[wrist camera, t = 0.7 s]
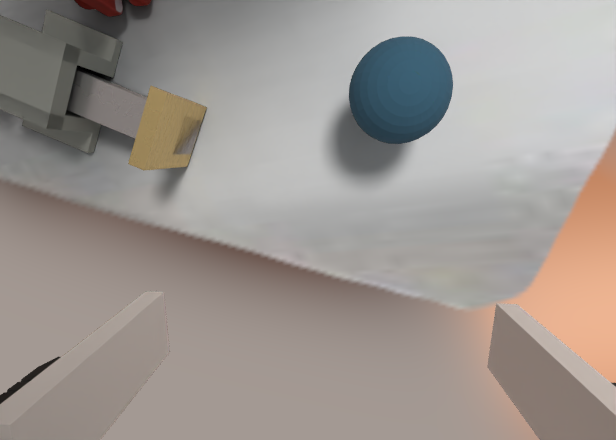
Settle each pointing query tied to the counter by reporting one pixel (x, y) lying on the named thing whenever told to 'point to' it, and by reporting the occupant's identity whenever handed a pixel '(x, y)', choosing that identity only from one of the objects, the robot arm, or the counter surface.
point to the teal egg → (400, 90)
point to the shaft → (140, 119)
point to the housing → (52, 75)
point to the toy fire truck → (109, 5)
